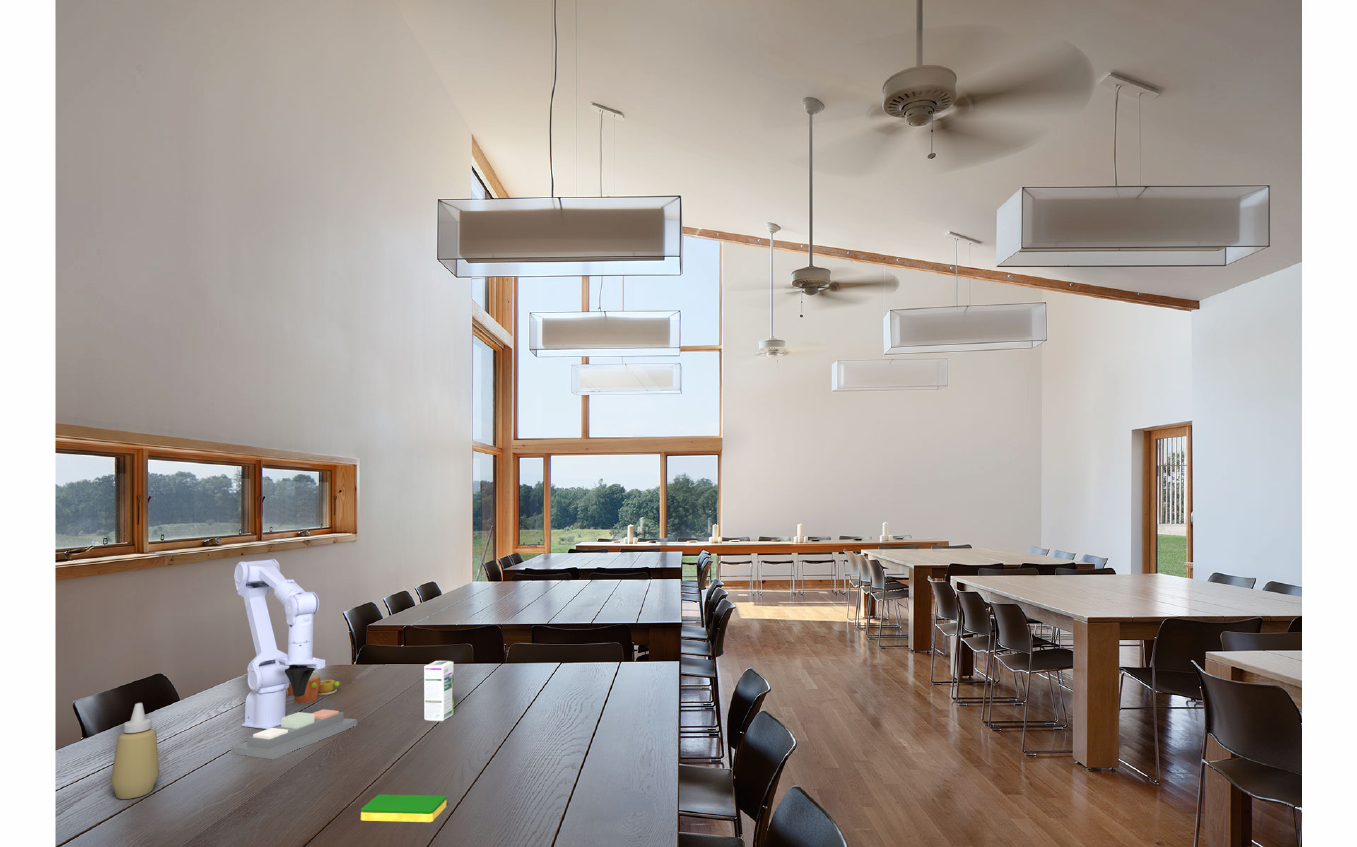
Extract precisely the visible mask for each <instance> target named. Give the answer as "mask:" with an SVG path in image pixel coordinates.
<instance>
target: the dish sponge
mask: <svg viewBox="0 0 1357 847" xmlns="http://www.w3.org/2000/svg"><path fill="white" fill-rule="evenodd" d="M446 808H447V795H425V794H424V795H422V794H421V795H419V794H413V795H412V794H411V795H410V794H378V795H376V796H375V797H374V798H373V799H371V800H370V801H369V802H368V803H367V804H365V805H364V806H363V807H362V808H360V821H367V822H368V821H369V822H371V821H373V822H374V821H375V822H377V821H378V822H411V823H413V822H414V823H415V822H416V823H431V822H434V820H436V818H438V816H439V815H440V814H442V812H443V811H444V810H445V809H446Z"/></svg>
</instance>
